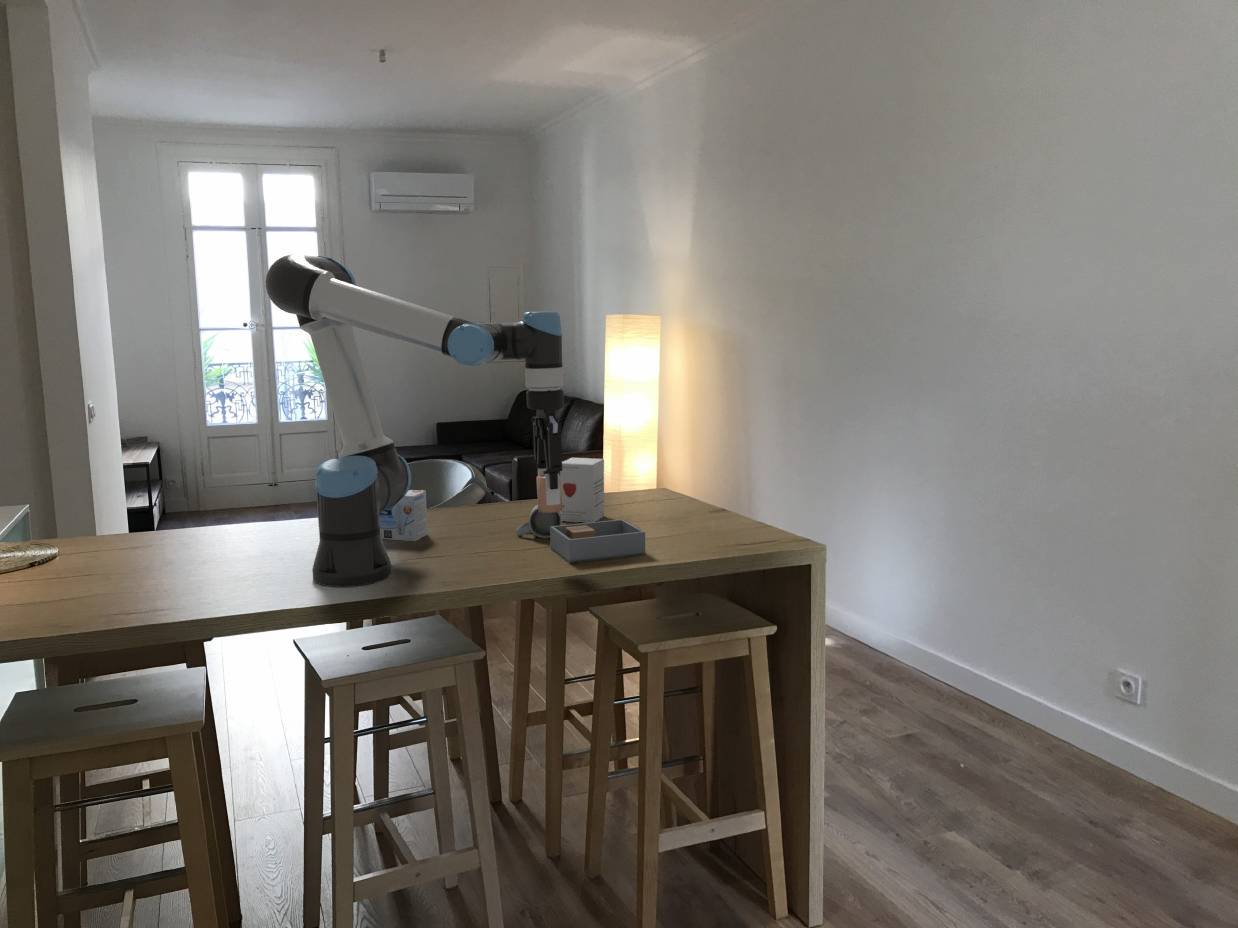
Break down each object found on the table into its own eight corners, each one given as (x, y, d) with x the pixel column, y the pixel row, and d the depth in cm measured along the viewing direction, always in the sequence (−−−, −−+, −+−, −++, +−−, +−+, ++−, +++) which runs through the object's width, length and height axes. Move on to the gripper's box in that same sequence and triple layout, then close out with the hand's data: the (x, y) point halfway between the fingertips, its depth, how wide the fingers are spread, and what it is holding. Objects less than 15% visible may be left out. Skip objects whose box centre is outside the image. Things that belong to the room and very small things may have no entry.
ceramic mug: (561, 529, 224) (559, 498, 223) (562, 537, 216) (561, 505, 215) (516, 531, 223) (515, 500, 222) (516, 540, 215) (514, 507, 214)
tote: (569, 563, 194) (568, 540, 193) (550, 548, 206) (550, 526, 205) (645, 554, 200) (645, 532, 199) (622, 540, 212) (622, 519, 212)
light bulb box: (373, 539, 216) (371, 493, 215) (387, 532, 223) (385, 488, 221) (416, 541, 214) (413, 495, 212) (428, 534, 220) (426, 489, 218)
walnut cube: (595, 552, 200) (594, 530, 199) (573, 555, 198) (572, 532, 198) (587, 547, 205) (586, 525, 204) (565, 549, 203) (565, 527, 202)
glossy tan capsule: (541, 513, 189) (540, 479, 188) (535, 508, 193) (533, 475, 192) (565, 511, 190) (563, 477, 189) (558, 506, 195) (556, 473, 194)
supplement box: (559, 522, 232) (558, 462, 229) (571, 514, 240) (570, 456, 237) (594, 524, 229) (593, 464, 226) (605, 516, 237) (604, 458, 235)
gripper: (576, 391, 181) (580, 508, 184) (550, 384, 197) (554, 492, 201) (538, 393, 178) (543, 512, 182) (515, 386, 195) (520, 495, 199)
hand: (549, 501), depth 192 cm, fingers closed on glossy tan capsule, 5 cm apart
